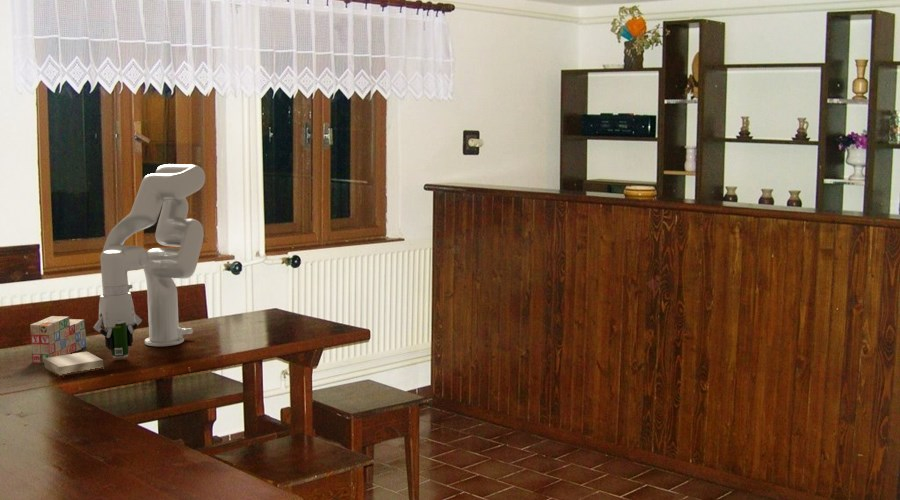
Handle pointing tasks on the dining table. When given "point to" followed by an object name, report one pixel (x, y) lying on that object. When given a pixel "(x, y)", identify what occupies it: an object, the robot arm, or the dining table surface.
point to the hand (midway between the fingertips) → (119, 346)
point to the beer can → (120, 340)
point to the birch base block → (73, 362)
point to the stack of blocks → (56, 337)
